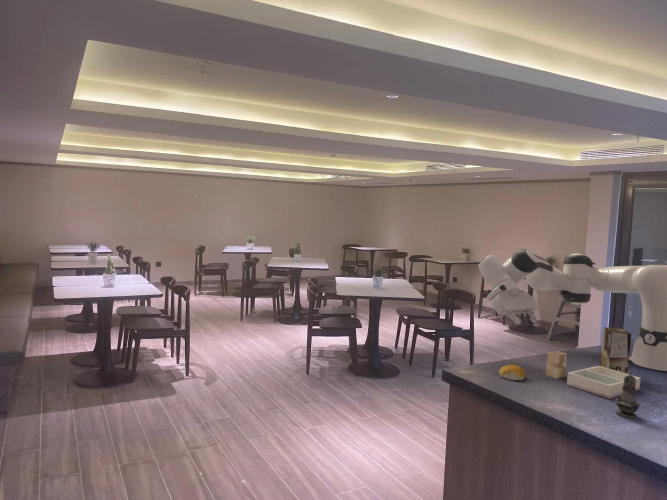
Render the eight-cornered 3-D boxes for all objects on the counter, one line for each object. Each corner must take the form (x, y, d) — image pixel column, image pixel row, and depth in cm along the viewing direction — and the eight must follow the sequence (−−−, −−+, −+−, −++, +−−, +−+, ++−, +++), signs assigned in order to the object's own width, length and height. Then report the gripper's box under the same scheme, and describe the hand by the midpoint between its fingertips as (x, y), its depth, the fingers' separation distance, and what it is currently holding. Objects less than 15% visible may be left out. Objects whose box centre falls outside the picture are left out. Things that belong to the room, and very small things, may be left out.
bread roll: (525, 375, 167) (526, 364, 167) (524, 383, 159) (525, 371, 158) (500, 371, 170) (501, 360, 170) (497, 378, 162) (498, 366, 162)
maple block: (554, 373, 170) (556, 350, 170) (564, 376, 167) (566, 354, 166) (545, 375, 168) (547, 352, 167) (556, 378, 164) (558, 355, 164)
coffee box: (627, 379, 167) (632, 333, 166) (607, 377, 169) (611, 331, 168) (618, 371, 176) (622, 328, 175) (598, 369, 178) (602, 326, 177)
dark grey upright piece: (644, 418, 133) (648, 375, 133) (628, 420, 131) (632, 376, 131) (624, 409, 139) (628, 368, 138) (609, 411, 137) (613, 369, 136)
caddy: (597, 377, 169) (598, 365, 168) (639, 389, 157) (640, 377, 157) (566, 384, 159) (567, 372, 158) (608, 398, 147) (610, 385, 147)
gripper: (518, 295, 192) (538, 324, 185) (483, 297, 181) (503, 329, 174) (529, 285, 188) (550, 315, 181) (494, 287, 177) (515, 319, 169)
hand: (527, 322), depth 177 cm, fingers open, 8 cm apart
